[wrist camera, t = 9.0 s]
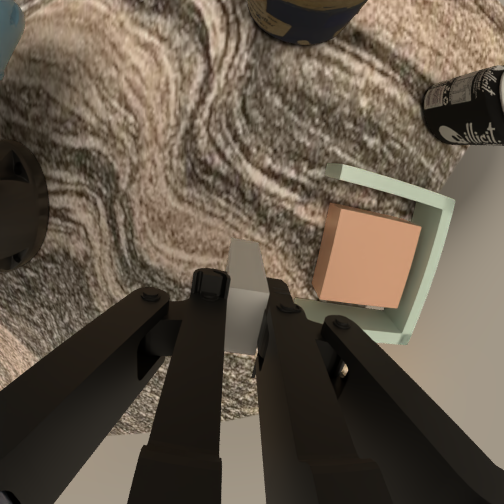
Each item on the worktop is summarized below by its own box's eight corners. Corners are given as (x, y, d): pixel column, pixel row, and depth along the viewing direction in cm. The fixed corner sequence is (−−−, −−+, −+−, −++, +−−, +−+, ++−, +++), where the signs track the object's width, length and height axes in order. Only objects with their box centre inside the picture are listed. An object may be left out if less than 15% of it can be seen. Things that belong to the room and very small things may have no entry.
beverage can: (470, 144, 26) (550, 148, 15) (424, 145, 27) (505, 146, 15) (461, 86, 24) (537, 69, 13) (414, 82, 25) (489, 55, 13)
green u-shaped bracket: (292, 308, 31) (299, 333, 26) (327, 163, 27) (342, 164, 22) (388, 321, 32) (407, 344, 27) (428, 192, 28) (455, 199, 23)
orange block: (311, 282, 31) (319, 299, 27) (329, 202, 29) (341, 208, 25) (382, 292, 31) (397, 308, 27) (402, 218, 29) (421, 226, 25)
